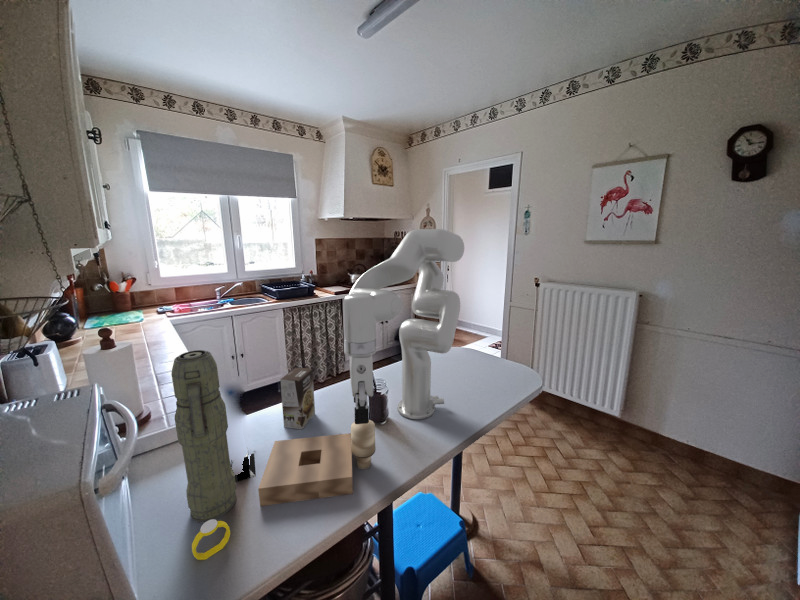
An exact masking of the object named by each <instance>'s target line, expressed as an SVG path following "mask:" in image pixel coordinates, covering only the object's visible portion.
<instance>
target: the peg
mask: <svg viewBox="0 0 800 600" xmlns="http://www.w3.org/2000/svg"><path fill="white" fill-rule="evenodd" d="M375 424H376V423H375V422H374V421H373V420H371V419H369V423H366V424H355V421H354V422H352V423H351V426H350V433H351V444H352V457H354V458H356V466H357V468H358V469H359V470H367V469H369V468H370V467H371V465H372V456H374V455H375V454H376V450H377V449H376V425H375Z"/></svg>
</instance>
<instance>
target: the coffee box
mask: <svg viewBox="0 0 800 600" xmlns="http://www.w3.org/2000/svg"><path fill="white" fill-rule="evenodd" d="M280 393H281V405H282V418H283V419H282V421H283V427H284V428H288V429H296V430H303V429H304V427H306V425H307V424H308V423H309V422H310V420H311V419H312V418H313V417H314V416H315V414H316V407H315V405H316V402H315V389H314V372H313V368H306V367H300V368H299V367H294V368H293V369H291V371H289V372H288V373H287V374H285V375H284V376H282V377H281V378H280Z"/></svg>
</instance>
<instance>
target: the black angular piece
mask: <svg viewBox="0 0 800 600" xmlns="http://www.w3.org/2000/svg"><path fill="white" fill-rule="evenodd" d="M246 448H247V449H248V447H246ZM248 450H249V449H248ZM250 454H251V456H250V465H249V459H248V455H249V452H248V453H247V455H246V456H245V457H244V461H243V464H242V465H243V469H242V470H243V471H244V472H241V473H240V474H238V475H235V483H238V482H241V481H245V480H248V479H253V478H255V477H256V476H257V474H256V461H255V459H256V458H255V453H254V452H253V453H250Z"/></svg>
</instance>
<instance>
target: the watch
mask: <svg viewBox="0 0 800 600" xmlns="http://www.w3.org/2000/svg"><path fill="white" fill-rule="evenodd" d="M222 527H223V528H225V533H224V536H223V538H222V539H221V541H220V542H219V543H218V544H216V545H214V546H213V547H212V548H209V549H208V550H207V551H205V552H197V547H198V545H199V542H200V541H201V540H202V539H203V538H204V537H207V536H210V535H212V534H213V533H215V532H216V531H217V529H218V528H222ZM230 529H231V528H230V526H229V525H228V523H227V522H225V521H224V520H218V519H211V520H209V521H207V522H205V523H203V524H202V525H201V527H200V530H199V531H198V533H197V534H196V535H195V536H194V539H193V541H192V543H191V552H192V554H193V556H194V558H195V559H196V560H199V561H205V560H207V559H208V558H210V557H212V556H213V555H215V554H216V553H218V552H219V551H222V549H224V547H225V546H226V545H227V543H228V542H229V540H230V537H231V530H230Z"/></svg>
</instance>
